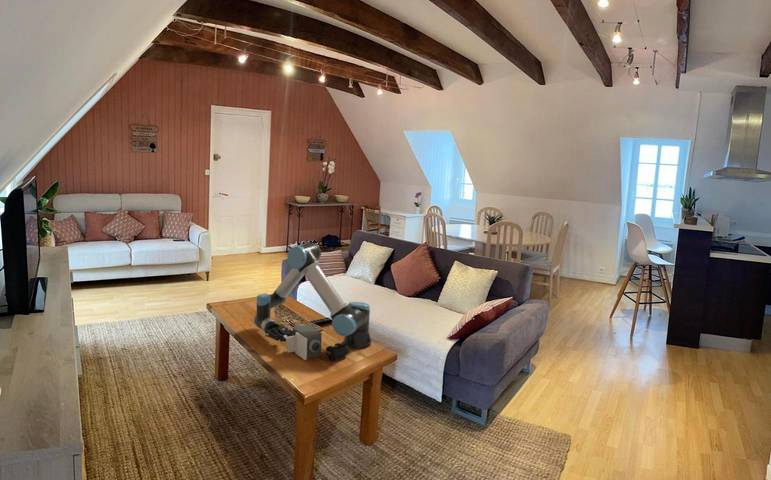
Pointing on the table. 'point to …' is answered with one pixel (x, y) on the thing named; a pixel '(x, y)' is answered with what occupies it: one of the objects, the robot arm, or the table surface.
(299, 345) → the side door
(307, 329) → the camera housing
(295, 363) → the table surface
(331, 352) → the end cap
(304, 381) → the table surface
